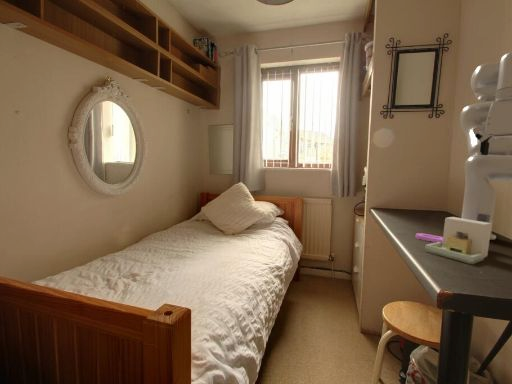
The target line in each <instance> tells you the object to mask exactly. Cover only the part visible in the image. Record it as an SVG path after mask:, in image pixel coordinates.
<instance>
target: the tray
mask: <svg viewBox="0 0 512 384" xmlns="http://www.w3.org/2000/svg"><path fill="white" fill-rule="evenodd" d="M424 252H426V253H430V254H433V255H437V256H440V257H444V258H448V259H451V260H455V261H459V262H461V263H466V264H468V265H474V264H477V263H480V262H483V261H484V260H485V258H486V257H485V253H482V252H481V253H478V254H475V255H473V254H468V255H465V254H462V251H458V250H452V251H450V250H446V247H442V244H441V242H436V243H435V242H431V243H428V244H425V247H424Z"/></svg>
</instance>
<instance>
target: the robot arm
mask: <svg viewBox="0 0 512 384" xmlns="http://www.w3.org/2000/svg"><path fill="white" fill-rule="evenodd" d="M470 88H471V91H472V92H473V93H474V96H475V98H476V99H477V100H478V101H482V102H477V103H473V104H469V105H466V106H465V107H464V108H462V110H461V112H460V116H459V121H460V122H459V123H460V128H461V130H462V133H464V135H465V137H466V141H467V143H466V145H467V153H468V156H469V157H468V158H467V159H466V160H465V162H464V174H465V175H464V177H465V180H464V181H465V182H464V183H465V184H464V194H463V202H462V210H461V217H460V218H463V219H469V220H475V221H477V217H478V214H488V215H490V219H489V223H492V225H491V232H490V240H491V241H492V240H493V241H494V240H496V239H497V235H496V234H493V233H492V230H493V222H494V214H495V206H496V200H497V191H496V189H495V187H494V186H493V185H492V183H490V181H500V182H501V181H503V182H512V51H510V52H507V53H505V54H504V55H503V56H502V57H501V58H500V61H493V62H487V63H481V64H480V65H478V66H477V67H476V68H475V70H474V71H473V73H472V76H471V78H470ZM490 240H489V241H490Z"/></svg>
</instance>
